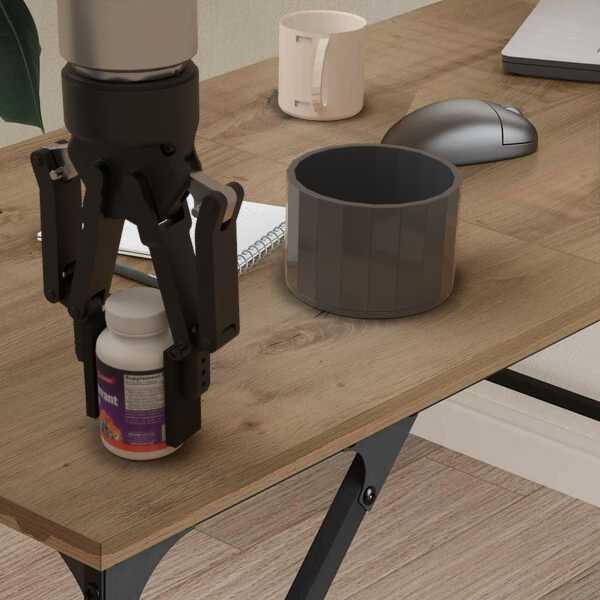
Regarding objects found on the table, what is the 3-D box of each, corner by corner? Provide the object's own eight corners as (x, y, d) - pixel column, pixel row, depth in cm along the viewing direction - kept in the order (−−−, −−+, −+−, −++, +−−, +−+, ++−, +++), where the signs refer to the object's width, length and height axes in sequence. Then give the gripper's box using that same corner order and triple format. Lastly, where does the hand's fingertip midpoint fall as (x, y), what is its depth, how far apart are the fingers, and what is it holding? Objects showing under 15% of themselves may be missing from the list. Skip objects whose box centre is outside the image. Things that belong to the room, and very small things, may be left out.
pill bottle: (95, 422, 85) (87, 285, 81) (178, 411, 87) (175, 277, 82) (107, 468, 81) (99, 326, 76) (194, 456, 82) (192, 316, 78)
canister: (406, 335, 97) (413, 221, 93) (253, 290, 103) (253, 182, 99) (480, 269, 107) (489, 164, 103) (337, 232, 113) (341, 132, 109)
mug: (291, 90, 147) (292, 7, 143) (370, 98, 145) (374, 14, 141) (259, 125, 137) (260, 36, 133) (345, 134, 135) (349, 44, 131)
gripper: (310, 72, 71) (301, 438, 82) (45, 19, 80) (67, 358, 90) (233, 109, 66) (233, 498, 76) (-45, 48, 74) (-10, 406, 84)
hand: (143, 421), depth 83 cm, fingers closed on pill bottle, 5 cm apart
